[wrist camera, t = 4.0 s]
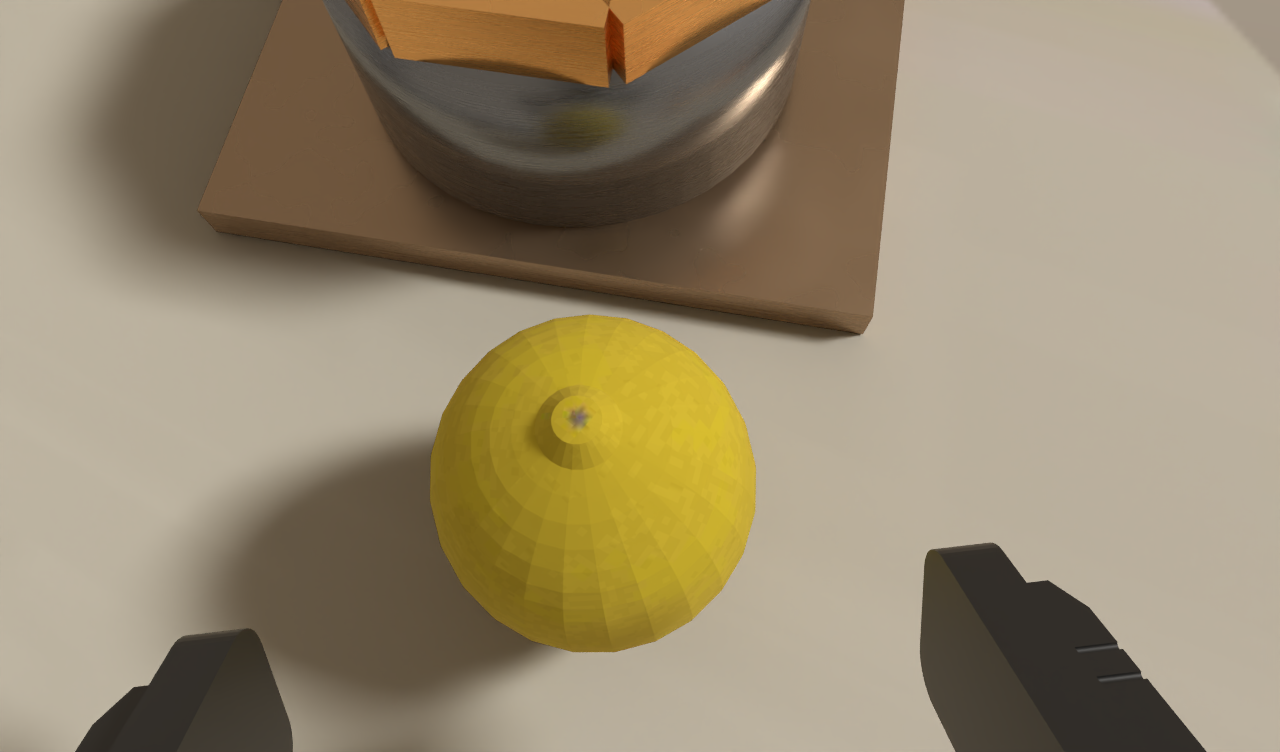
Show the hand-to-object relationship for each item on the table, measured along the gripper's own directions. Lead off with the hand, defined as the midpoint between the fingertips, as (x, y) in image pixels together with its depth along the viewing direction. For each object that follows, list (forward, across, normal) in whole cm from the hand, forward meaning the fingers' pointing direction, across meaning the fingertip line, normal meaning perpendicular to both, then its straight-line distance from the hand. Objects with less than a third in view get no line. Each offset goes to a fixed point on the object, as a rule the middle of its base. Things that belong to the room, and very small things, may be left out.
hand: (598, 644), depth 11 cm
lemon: (+8, 0, +4) cm, 9 cm away
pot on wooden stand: (+16, -1, -5) cm, 17 cm away
